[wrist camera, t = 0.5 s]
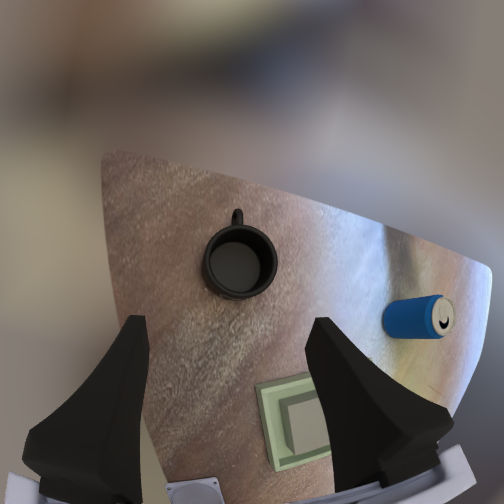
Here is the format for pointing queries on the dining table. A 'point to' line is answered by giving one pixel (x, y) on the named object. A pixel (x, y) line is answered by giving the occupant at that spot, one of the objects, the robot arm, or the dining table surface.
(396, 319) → the beverage can
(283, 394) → the tray
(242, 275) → the mug
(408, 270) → the dining table surface
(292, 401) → the grey block
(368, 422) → the robot arm
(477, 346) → the dining table surface
